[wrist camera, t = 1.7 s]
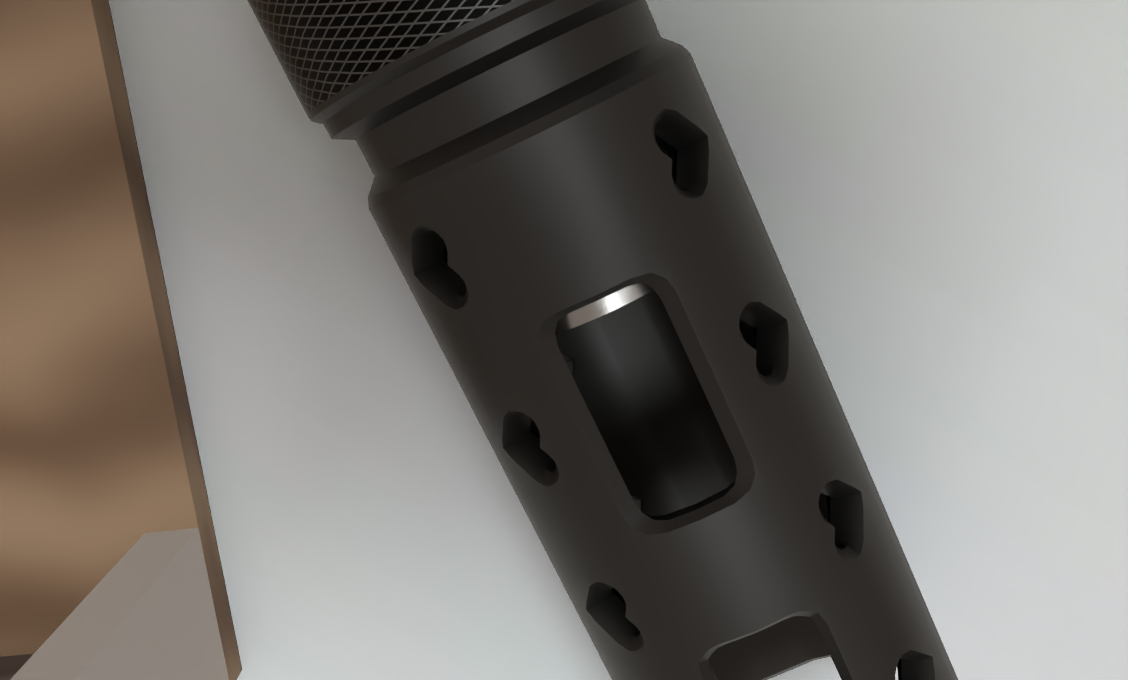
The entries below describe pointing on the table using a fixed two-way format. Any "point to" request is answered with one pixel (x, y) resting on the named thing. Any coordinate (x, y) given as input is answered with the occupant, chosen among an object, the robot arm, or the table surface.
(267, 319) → the table surface
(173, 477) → the mounting board
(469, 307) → the muzzle brake
